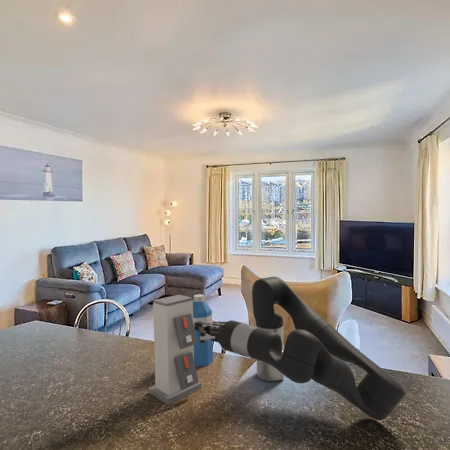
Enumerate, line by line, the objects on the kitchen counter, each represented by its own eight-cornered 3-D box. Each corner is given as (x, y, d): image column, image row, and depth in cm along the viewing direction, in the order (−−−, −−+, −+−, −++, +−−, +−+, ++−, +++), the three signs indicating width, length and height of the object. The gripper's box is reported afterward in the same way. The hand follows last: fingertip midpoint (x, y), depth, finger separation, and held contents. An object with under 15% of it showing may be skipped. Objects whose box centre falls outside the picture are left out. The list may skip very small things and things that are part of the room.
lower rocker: (180, 389, 97) (174, 358, 99) (196, 382, 102) (189, 352, 103) (183, 390, 96) (177, 358, 98) (199, 382, 101) (192, 352, 102)
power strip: (148, 392, 103) (146, 300, 103) (181, 378, 112) (179, 293, 112) (167, 404, 96) (165, 305, 96) (201, 387, 105) (199, 297, 105)
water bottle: (214, 356, 129) (213, 292, 129) (211, 367, 120) (209, 298, 120) (190, 356, 130) (189, 292, 130) (185, 366, 121) (184, 298, 121)
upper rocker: (179, 349, 97) (173, 318, 99) (195, 343, 101) (188, 314, 103) (182, 348, 96) (175, 317, 98) (198, 343, 100) (191, 313, 102)
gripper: (223, 362, 78) (178, 345, 90) (258, 346, 87) (213, 332, 100) (222, 330, 78) (177, 317, 90) (258, 317, 87) (212, 307, 100)
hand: (196, 325), depth 95 cm, fingers closed
